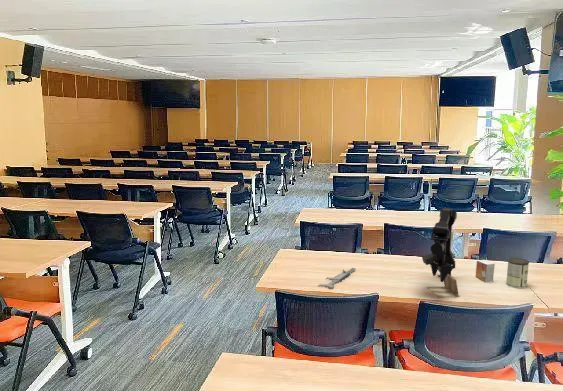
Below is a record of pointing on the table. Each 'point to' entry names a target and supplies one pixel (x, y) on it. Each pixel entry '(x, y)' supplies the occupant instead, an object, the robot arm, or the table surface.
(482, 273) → the small box
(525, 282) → the coffee can
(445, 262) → the robot arm
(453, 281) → the leaf
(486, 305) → the table surface
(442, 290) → the base leaf
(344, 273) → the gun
